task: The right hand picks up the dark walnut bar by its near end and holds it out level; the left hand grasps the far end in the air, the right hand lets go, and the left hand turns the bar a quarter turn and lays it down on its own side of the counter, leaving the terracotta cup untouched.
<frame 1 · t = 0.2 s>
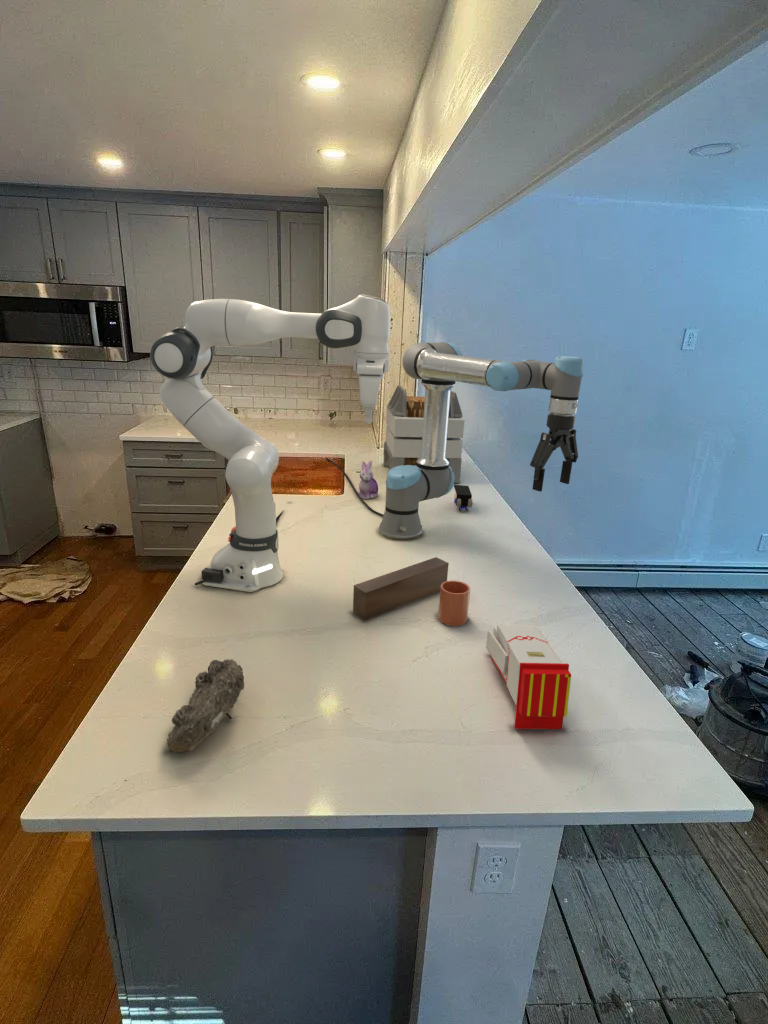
left hand: (368, 419, 147), 47 cm above the counter, fingers open, 8 cm apart
right hand: (551, 486, 165), 28 cm above the counter, fingers open, 13 cm apart
figurine: (368, 496, 238), on the counter
toy: (519, 685, 121), on the counter
terracotta cup: (452, 618, 147), on the counter
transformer: (419, 473, 275), on the counter
feather: (281, 514, 213), on the counter
figurine character: (461, 507, 230), on the counter
walnut bar: (401, 599, 155), on the counter
fossil: (212, 717, 108), on the counter
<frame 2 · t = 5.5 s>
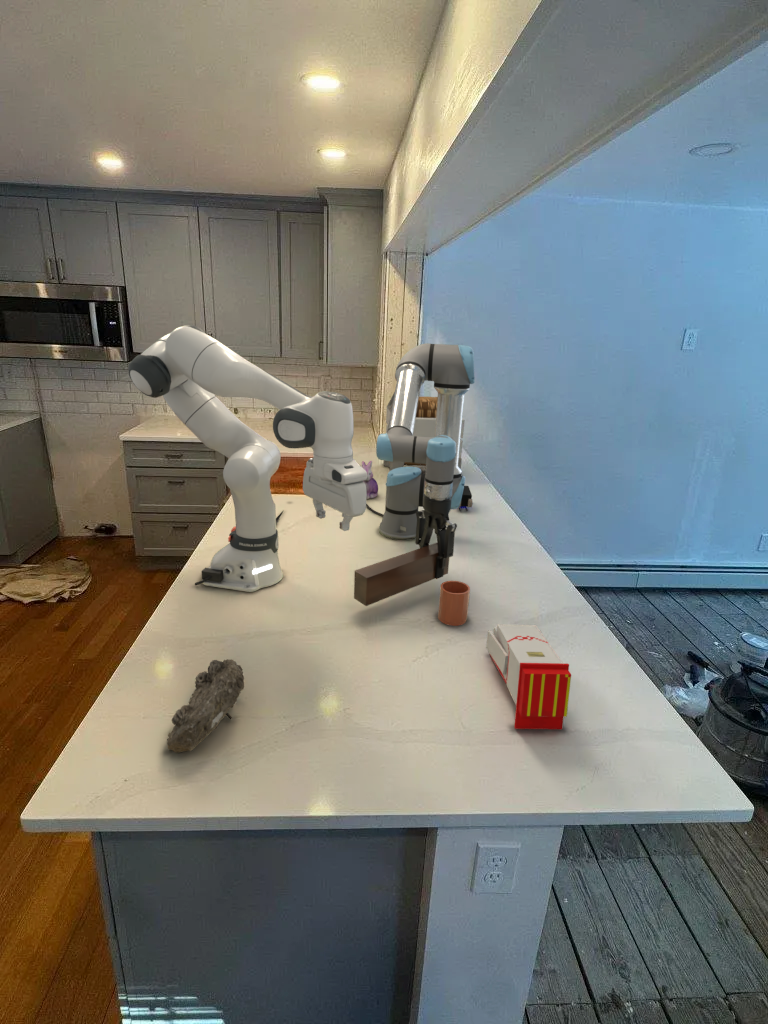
left hand: (332, 523, 132), 27 cm above the counter, fingers open, 8 cm apart
right hand: (431, 573, 160), 5 cm above the counter, fingers closed on walnut bar, 5 cm apart
walnut bar: (403, 585, 154), point 4 cm above the counter, touching right hand
everything else where it was.
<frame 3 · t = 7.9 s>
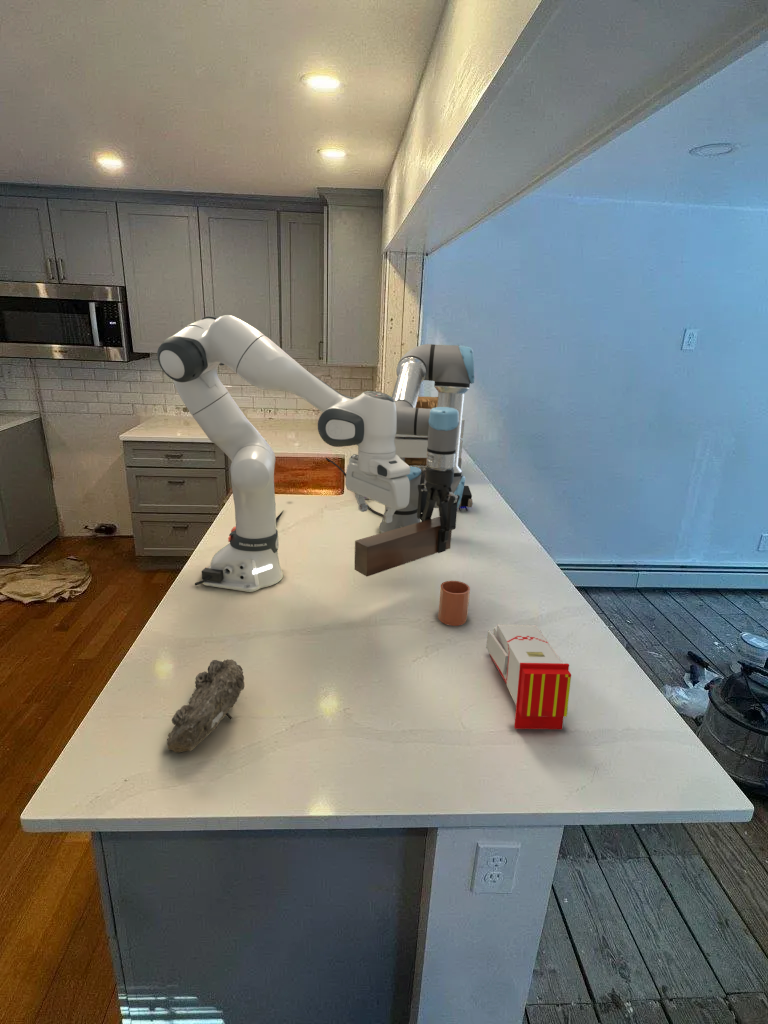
left hand: (374, 516, 139), 27 cm above the counter, fingers open, 8 cm apart
right hand: (433, 547, 157), 13 cm above the counter, fingers closed on walnut bar, 5 cm apart
walnut bar: (404, 558, 151), point 12 cm above the counter, touching right hand
everything else where it was.
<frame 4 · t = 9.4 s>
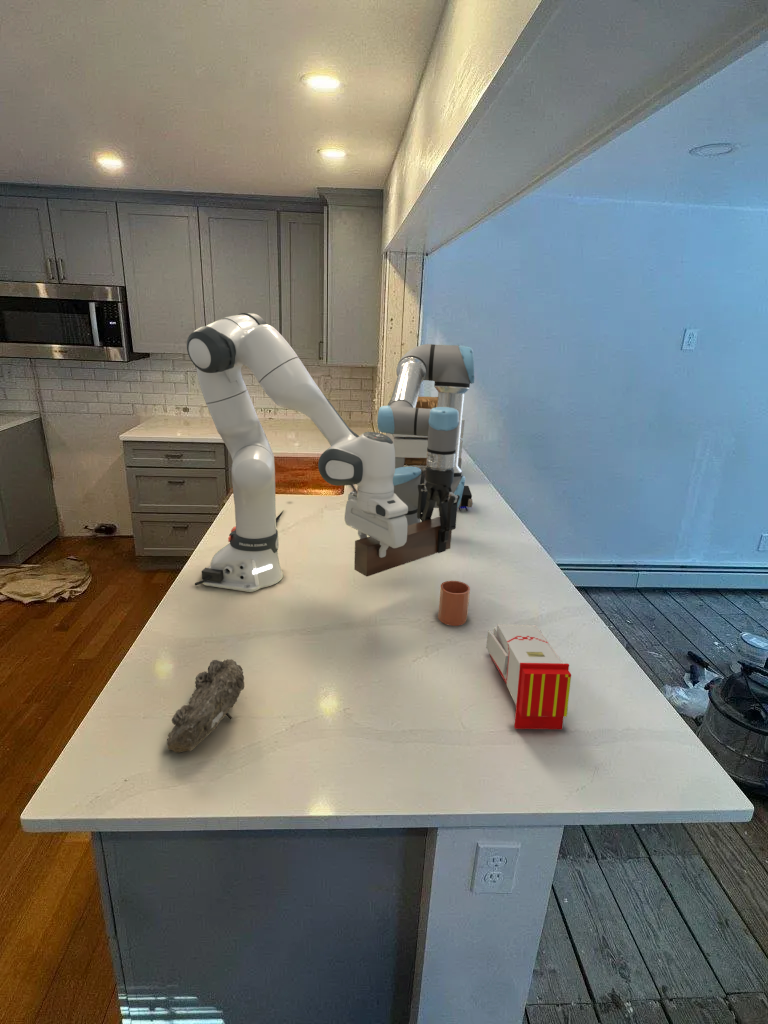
left hand: (373, 552, 142), 17 cm above the counter, fingers closed on walnut bar, 5 cm apart
right hand: (433, 548, 157), 13 cm above the counter, fingers closed on walnut bar, 5 cm apart
walnut bar: (404, 558, 151), point 12 cm above the counter, touching right hand, left hand
everything else where it was.
when the right hand's fingers open (13 cm above the counter, at t = 10.5 s): walnut bar stays where it is, held by the left hand.
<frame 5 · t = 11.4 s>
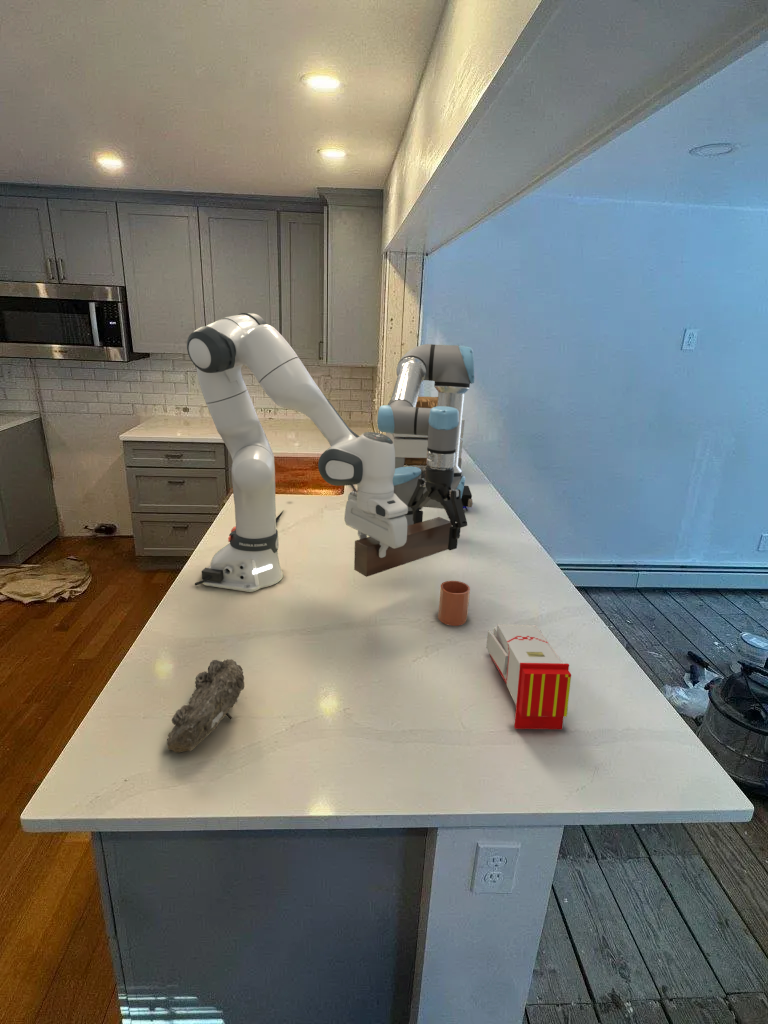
left hand: (373, 552, 142), 17 cm above the counter, fingers closed on walnut bar, 5 cm apart
right hand: (434, 540, 157), 15 cm above the counter, fingers open, 13 cm apart
walnut bar: (404, 558, 151), point 12 cm above the counter, touching left hand
everything else where it was.
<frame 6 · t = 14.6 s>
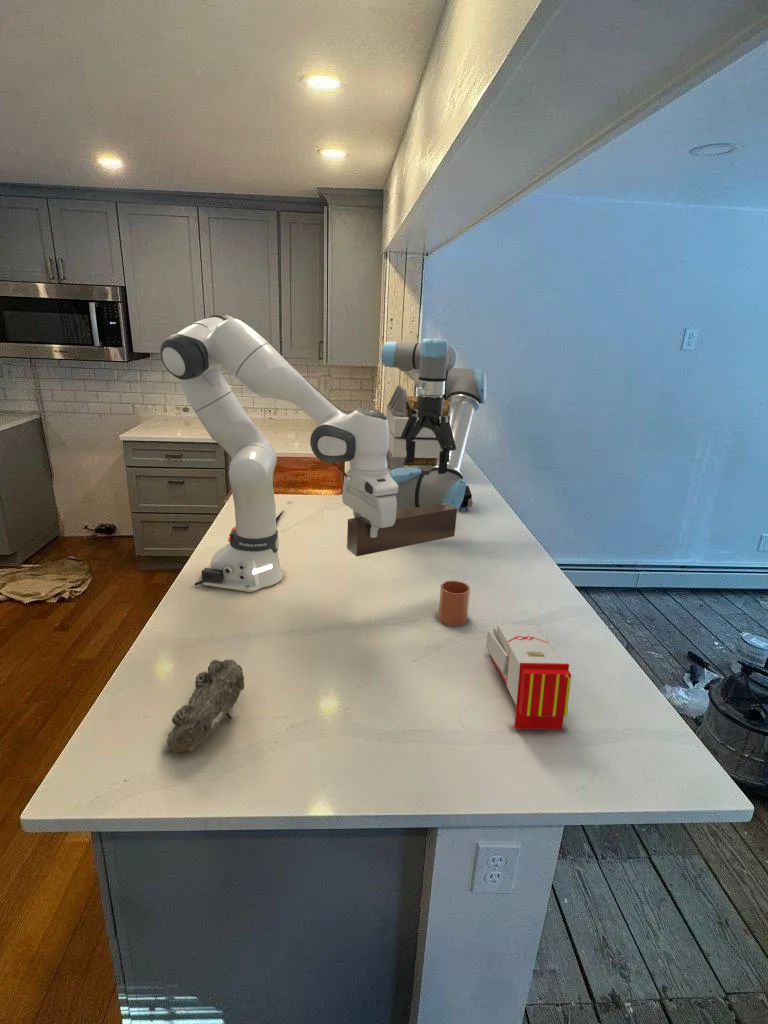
left hand: (366, 532, 139), 23 cm above the counter, fingers closed on walnut bar, 5 cm apart
right hand: (425, 467, 168), 31 cm above the counter, fingers open, 13 cm apart
walnut bar: (402, 542, 146), point 18 cm above the counter, touching left hand
everything else where it was.
when the left hand's fingers open (6 cm above the counter, at t = 19.8 s): walnut bar stays where it is, on the counter.
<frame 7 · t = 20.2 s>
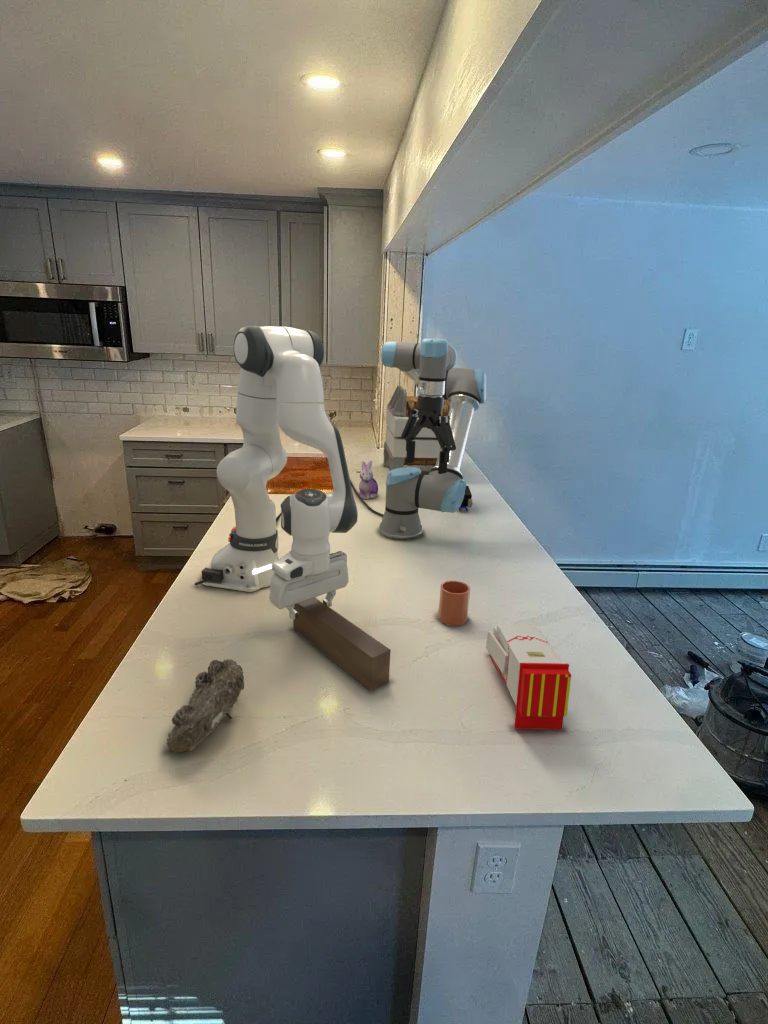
left hand: (310, 612, 135), 6 cm above the counter, fingers open, 8 cm apart
right hand: (425, 467, 168), 31 cm above the counter, fingers open, 13 cm apart
walnut bar: (337, 653, 130), on the counter
everything else where it was.
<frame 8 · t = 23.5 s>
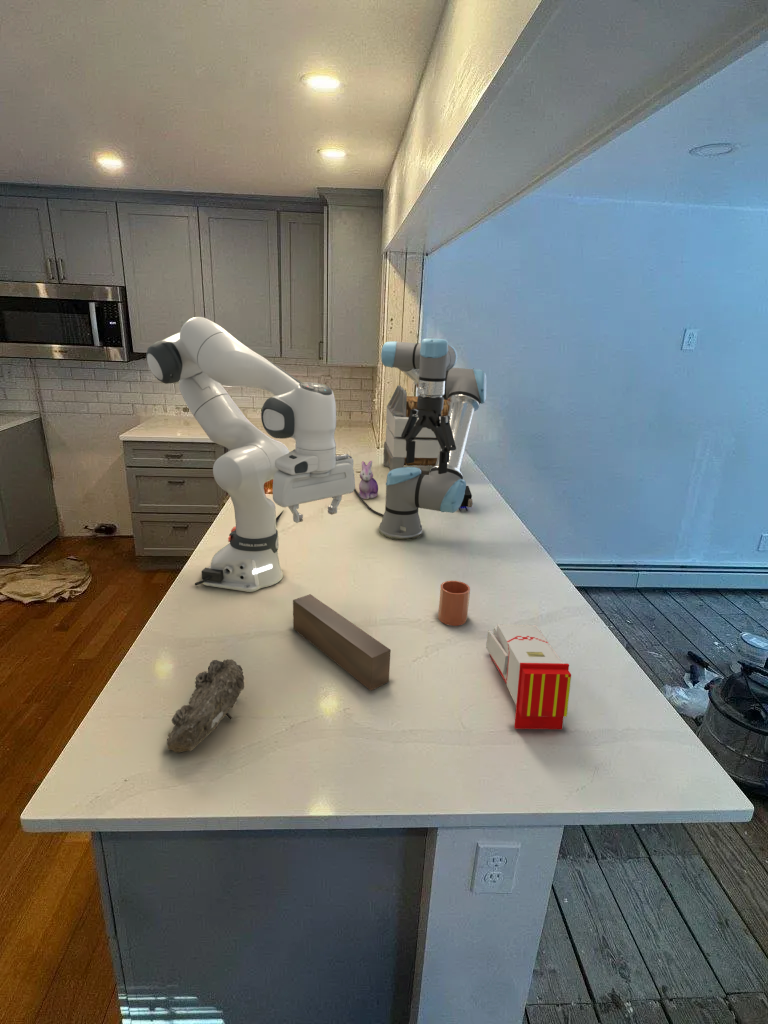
left hand: (315, 517, 129), 29 cm above the counter, fingers open, 8 cm apart
right hand: (425, 467, 168), 31 cm above the counter, fingers open, 13 cm apart
nothing on the counter moved.
at the end: walnut bar inside the target area (0.0 cm from its centre), on the counter; both hands held the walnut bar at the same time; the left hand is holding nothing; the right hand is holding nothing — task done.
